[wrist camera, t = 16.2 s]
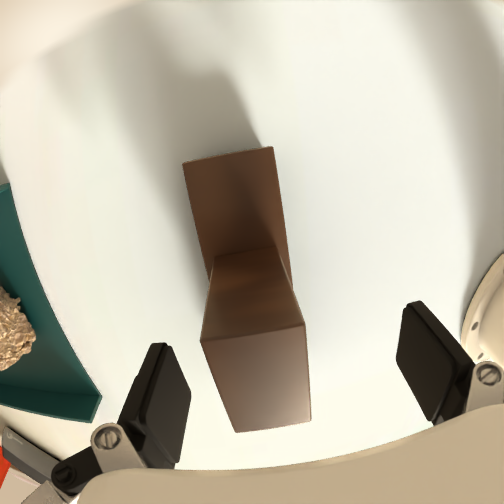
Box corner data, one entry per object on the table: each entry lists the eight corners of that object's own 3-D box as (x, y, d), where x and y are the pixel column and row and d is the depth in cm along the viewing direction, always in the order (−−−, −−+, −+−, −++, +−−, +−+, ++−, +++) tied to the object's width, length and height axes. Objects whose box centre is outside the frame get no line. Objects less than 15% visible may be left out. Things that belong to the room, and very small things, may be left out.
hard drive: (6, 421, 24) (-4, 440, 20) (113, 486, 29) (109, 506, 25) (5, 441, 27) (-2, 456, 23) (92, 494, 32) (88, 509, 29)
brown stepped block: (267, 146, 14) (307, 149, 6) (296, 358, 19) (322, 463, 11) (190, 160, 14) (132, 182, 6) (240, 368, 19) (243, 475, 11)
